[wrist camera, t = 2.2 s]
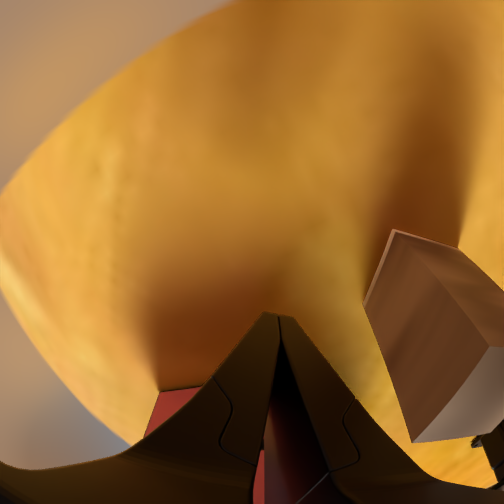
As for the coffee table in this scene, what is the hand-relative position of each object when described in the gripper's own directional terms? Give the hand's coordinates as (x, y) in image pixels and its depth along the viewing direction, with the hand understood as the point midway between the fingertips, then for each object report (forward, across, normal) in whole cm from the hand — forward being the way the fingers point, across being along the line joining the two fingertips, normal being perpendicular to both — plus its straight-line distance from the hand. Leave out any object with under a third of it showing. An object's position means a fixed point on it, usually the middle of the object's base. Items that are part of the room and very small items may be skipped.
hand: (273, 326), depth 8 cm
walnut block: (+6, -7, 0) cm, 9 cm away
